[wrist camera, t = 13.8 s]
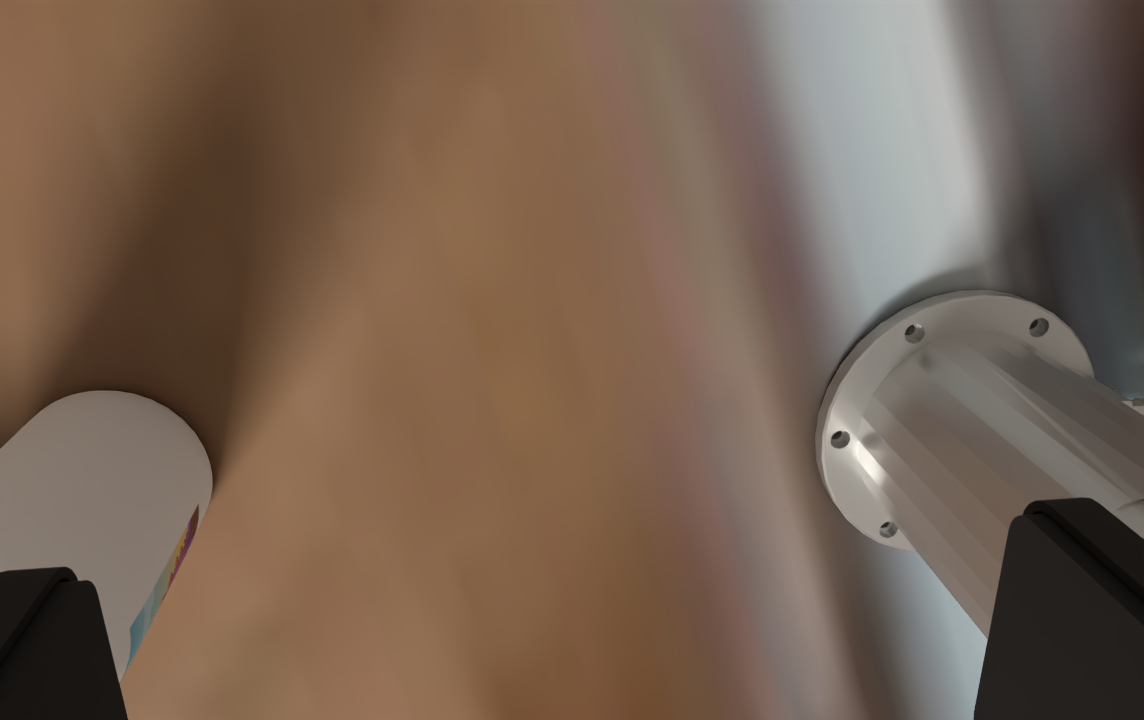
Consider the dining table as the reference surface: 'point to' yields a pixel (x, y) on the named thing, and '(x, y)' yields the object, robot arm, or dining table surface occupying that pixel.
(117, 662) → the milk bottle
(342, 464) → the dining table surface
